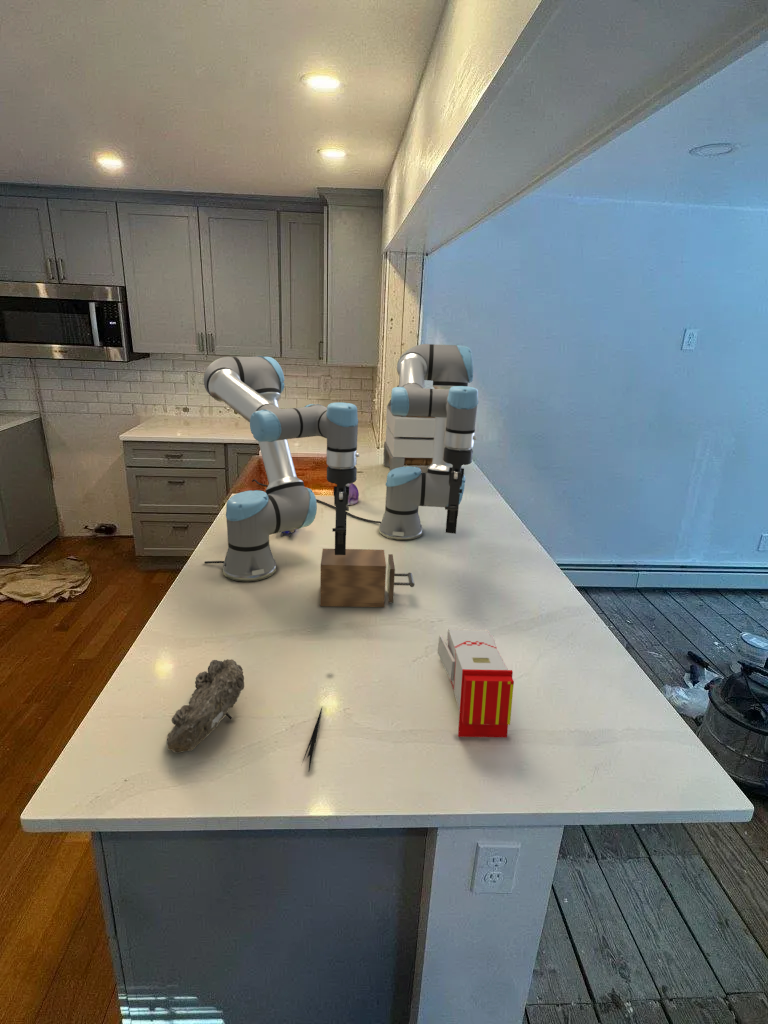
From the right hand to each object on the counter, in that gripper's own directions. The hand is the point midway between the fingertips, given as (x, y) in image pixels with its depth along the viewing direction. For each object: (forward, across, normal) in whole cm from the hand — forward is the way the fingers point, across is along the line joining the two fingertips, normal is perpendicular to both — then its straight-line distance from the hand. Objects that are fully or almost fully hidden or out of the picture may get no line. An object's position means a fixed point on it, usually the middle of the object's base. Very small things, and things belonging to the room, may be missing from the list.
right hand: (451, 523), depth 154 cm
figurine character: (+20, +31, +57) cm, 68 cm away
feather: (+20, -59, +21) cm, 66 cm away
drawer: (+19, -9, +19) cm, 29 cm away
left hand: (+4, -11, +28) cm, 31 cm away
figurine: (+20, +67, +43) cm, 82 cm away
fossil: (+20, -63, +41) cm, 78 cm away
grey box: (+20, +119, +20) cm, 123 cm away
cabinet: (+20, -10, +25) cm, 34 cm away
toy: (+20, -45, -7) cm, 50 cm away
